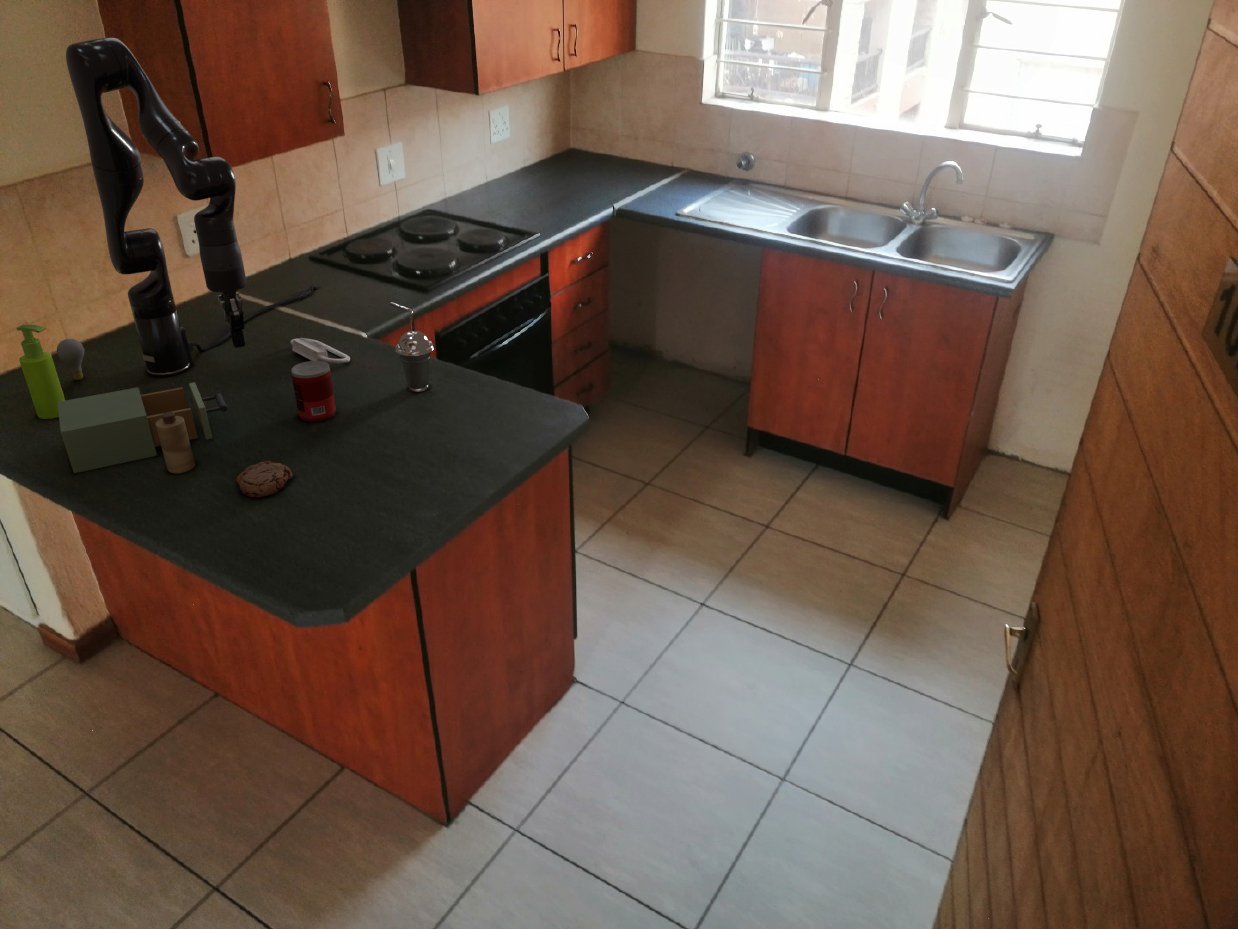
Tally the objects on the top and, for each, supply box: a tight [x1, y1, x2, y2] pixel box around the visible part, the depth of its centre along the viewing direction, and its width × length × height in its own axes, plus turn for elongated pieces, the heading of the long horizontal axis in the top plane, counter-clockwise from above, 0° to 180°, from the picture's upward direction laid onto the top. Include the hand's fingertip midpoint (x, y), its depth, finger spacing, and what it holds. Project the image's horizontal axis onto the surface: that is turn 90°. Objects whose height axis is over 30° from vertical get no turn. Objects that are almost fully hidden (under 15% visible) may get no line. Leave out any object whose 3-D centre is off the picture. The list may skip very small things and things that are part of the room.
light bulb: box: [56, 338, 85, 381], centre depth 215 cm, size 6×6×10 cm
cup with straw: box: [389, 301, 435, 393], centre depth 211 cm, size 8×9×20 cm
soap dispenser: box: [16, 324, 66, 420], centre depth 197 cm, size 6×7×20 cm
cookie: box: [236, 460, 294, 498], centre depth 177 cm, size 10×11×3 cm
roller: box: [156, 412, 196, 474], centre depth 180 cm, size 5×5×12 cm
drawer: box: [140, 382, 228, 448], centre depth 193 cm, size 18×14×7 cm
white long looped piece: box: [289, 337, 351, 364], centre depth 230 cm, size 20×8×4 cm, turn 47°
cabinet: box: [57, 387, 158, 474], centre depth 187 cm, size 15×15×9 cm
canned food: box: [290, 360, 337, 423], centre depth 200 cm, size 8×8×11 cm
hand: (239, 345), depth 192 cm, fingers closed
